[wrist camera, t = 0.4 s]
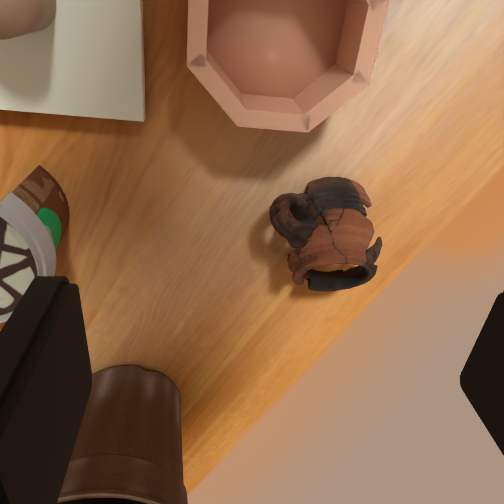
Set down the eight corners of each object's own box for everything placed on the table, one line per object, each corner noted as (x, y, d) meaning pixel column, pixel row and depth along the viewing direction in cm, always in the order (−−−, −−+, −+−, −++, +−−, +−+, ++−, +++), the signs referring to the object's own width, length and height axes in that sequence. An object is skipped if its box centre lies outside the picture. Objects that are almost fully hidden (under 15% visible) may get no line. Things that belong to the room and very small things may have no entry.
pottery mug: (392, 192, 41) (409, 270, 37) (322, 233, 47) (330, 303, 44) (298, 142, 34) (307, 232, 30) (232, 198, 41) (233, 277, 37)
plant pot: (221, 412, 55) (224, 553, 41) (117, 453, 58) (87, 598, 44) (150, 330, 47) (125, 473, 33) (32, 383, 50) (-36, 534, 36)
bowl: (194, -91, 28) (190, -108, 23) (373, -65, 29) (406, -75, 24) (189, 101, 34) (185, 122, 29) (336, 115, 36) (356, 136, 31)
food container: (37, 282, 42) (-6, 356, 34) (-24, 246, 40) (-87, 317, 31) (111, 198, 38) (82, 259, 30) (48, 152, 36) (-3, 204, 27)
